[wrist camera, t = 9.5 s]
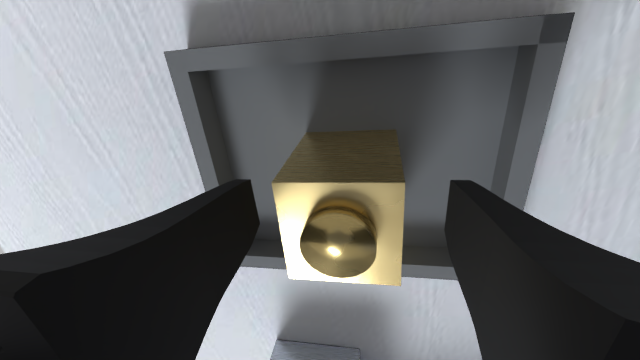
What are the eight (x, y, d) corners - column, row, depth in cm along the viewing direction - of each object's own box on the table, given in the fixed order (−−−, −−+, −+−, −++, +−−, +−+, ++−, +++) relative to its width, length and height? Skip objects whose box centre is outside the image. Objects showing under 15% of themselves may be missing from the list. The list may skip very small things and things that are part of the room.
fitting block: (396, 129, 13) (407, 193, 8) (394, 207, 14) (401, 300, 10) (306, 132, 13) (264, 192, 9) (314, 206, 15) (284, 291, 10)
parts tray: (547, 14, 10) (575, 12, 9) (492, 259, 15) (504, 283, 14) (186, 49, 13) (163, 51, 11) (239, 246, 18) (227, 265, 16)
